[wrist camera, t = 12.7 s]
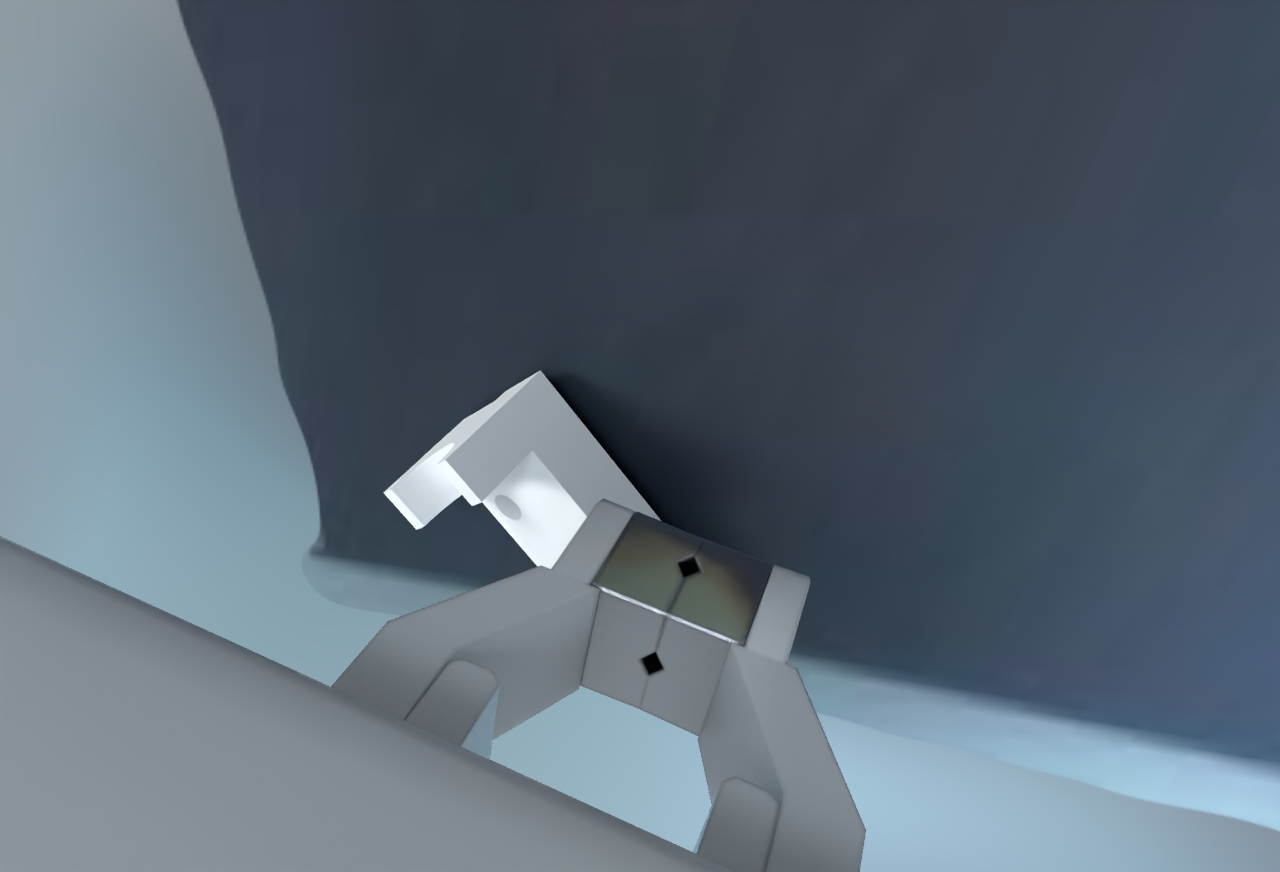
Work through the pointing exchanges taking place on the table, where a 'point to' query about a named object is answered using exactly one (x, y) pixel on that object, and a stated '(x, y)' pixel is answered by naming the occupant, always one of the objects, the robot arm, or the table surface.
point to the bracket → (519, 471)
